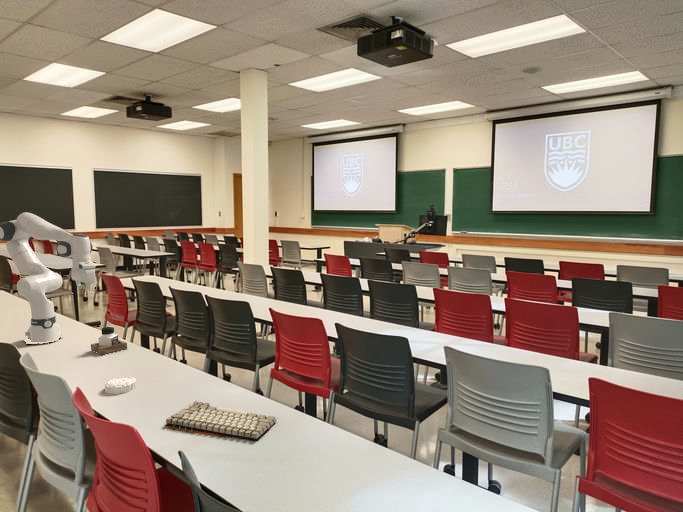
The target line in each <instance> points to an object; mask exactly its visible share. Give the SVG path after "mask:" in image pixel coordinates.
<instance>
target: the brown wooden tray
mask: <svg viewBox="0 0 683 512" xmlns="http://www.w3.org/2000/svg"><path fill="white" fill-rule="evenodd" d="M118 343H119V344H116V345H112V346H108V347H101V346H99V342H94V343H91V344H90V350H92V351H91V352H93V351H95V352H97V353H96V354H98V353H99V354H98V355H100V354H101V356H106V355H105V354H107V355H110V354H109V353H111V354H114V353H113V352H115V353H117V351H119V352H122V351H121V350H123V351H126V350H128V343H127V342H126V341H123V340H119V339H118ZM95 352H94V353H95Z"/></svg>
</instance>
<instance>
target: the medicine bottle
mask: <svg viewBox="0 0 683 512" xmlns="http://www.w3.org/2000/svg"><path fill="white" fill-rule="evenodd" d="M118 340H119V335H118V334H117V333H116V334H115V327H114V326H109V325H108V326H104V327H101V336H99V337H98V343H99V346H101V347H108V346H112V345H116V344H119V343H118Z"/></svg>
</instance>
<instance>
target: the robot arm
mask: <svg viewBox="0 0 683 512" xmlns="http://www.w3.org/2000/svg"><path fill="white" fill-rule="evenodd" d="M34 239H36V240H38V241H58V243H57V244H56V253H57V254H58V256H60V257H61V258H65V259H68V258H71V262H72V266H71V273H70V274H71V280H72V281H75V285H76V286H77V287H76V288H77V290H82V289H83V285H82V284H81V283H84V284H85V287H84V290H85V292H90V291H91V285H92V284H94V283H95V281H96V270H95V269H96V264H95V262H93V261H92V257H91V253H92V251H93V244H92V242H91V240H90V237H89V235H88V234H86V233H85V234H84V233H72V232H70V231H68V230H66V229H64V228H61V227H60V226H57V225H55V224H52V223H51V222H48V221H47V220H45V219H44V218H41V216H38V215H37V214H34V213H32V212H27V211H26V212H22V213H20V214H19V215H18V216H17V217H16V219H14V220H9V221H3V222H0V241H1V242H6V244H5V247H6V250H7V252H8V254H9V256H10V259H11V260H12V261H13V263H14V265H15V266H16V268H17V270H18V271H19V272H20V273H22V274H24V275H25V274H26V275H27V276H25V277H23V278H20V279H19V280H18V281H17V283H16V290H17V292H18V293H19V294H20V295H21V296H23V297H24V298H25V299H26V300H27V302H28V304H29V306H30V307H29V308H30V314H31V318H30V326H29V327H28V329H27V331H24V336H25V337H28V339H30V340H31V342H47V341H52V340H55V339H58V338H59V337H60V336H61V330H60V325H59V324H58V323H57V318H56V315H55V303H54V302H53V301H52V300H50V299H48V298H47V296H46V293H50V292H54V291H57V290H58V289H60V288H61V287H62V285H63V277H62V275H60V273H57V272H55V271H52V270H51V269H49V268H48V267H46V266H45V264H43V263H42V261H40V260H39V258H38V256H37V255H36V253H35V252H34V250H33V249H32V247H31V246H30V243H29V240H30V241H33V240H34Z"/></svg>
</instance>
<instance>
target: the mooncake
mask: <svg viewBox="0 0 683 512" xmlns="http://www.w3.org/2000/svg"><path fill="white" fill-rule="evenodd" d="M136 388H137V379H136V378H135V377H131V376H121V377H115V378H112V379H111V380H108V381H106V383H104V389H105V393H106V394H110V395H117V394H118V395H119V394H124V393H129V392H131V391H133V390H135V389H136Z"/></svg>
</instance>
